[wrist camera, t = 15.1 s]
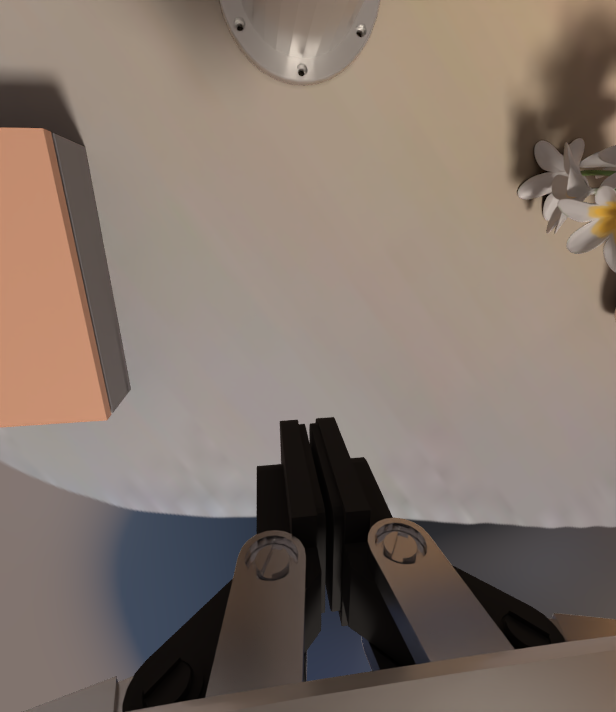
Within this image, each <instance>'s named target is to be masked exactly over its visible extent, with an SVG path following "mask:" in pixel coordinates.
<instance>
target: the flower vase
mask: <svg viewBox="0 0 616 712" xmlns="http://www.w3.org/2000/svg"><path fill="white" fill-rule="evenodd" d="M584 147H585V143H584V140H583V139H582V138H577V139H575V140H574V141H573V142H571V144H569V145H568V143H567V142H566V143H565V147H564V156H563V155H562V154H560V153H559V151H558V150H557V149H556V148H555V147H554V146H553V145H552V144H550V143H549V142H547V141H543V140H541V141H539V142H538V143H536V145H535V149H534V153H535V158H536V161H537V163H538V164H539V166H540V167H541V168H542V169H543V170H546V171H549V172H547V173H542V174H539V175H536V176H534V177H532V178H530V179H528V180H527V181H525V182H524V183H523V184H522V185H521V186H520V188H519V189H518V196H519V198H521V199H533V198H537V197H540V196H543V195H546V194H548V193H551V192H552V193H551V194H550V195H548V196H547V198H546V200H545V203H544V206H543V216H544V218H545V220H549V222H548V225H547V230H546V231H547V234H548V233H549V232H550V231H551V230H552V229H553V228H554V227H555V226H556V227H555V232H554V234H555V233H556V232H557V231H558V229H559V228H560V227H561V225H562V224H563V223H564V221H565V220H566V219H567V217H569V218H570V219H572V220H575V221H578V222H588V221H591V222H589V223H587V224H586V225H584V226H582V227H581V228H579V229H578V230H576V231H575V232H574V233H573V234H572V235H571V236H570V237H569V239H568V241H567V249H568V250H569V251H570V252H572V253H575V254H581V253H586V252H588V251H591V250H592V249H594V248H596V247H597V246H599V245H600V244H602V243H603V242H604V241H606V240H607V239H608V240H607V241H606V243H605V245H604V250H603V252H604V257H605V260H606V262H607V264H608V266H609V267H610V268H611V269H612V270H613V271H614V272H615V273H616V145H615V146H611V147H608V148H606V149H604V150H602V151H599V152H597V153H594V154H592V155H590V156H589V157H587V158H585V159H584V160H582V161H581V159H582V156H583V153H584ZM580 167H582V168H592V167H605V168H604V169H602V170H584V171H580ZM590 175H595V178H596V179H597V178H601V177H604V176H609V177H608V178H606V179H605V180H604V181H603V182H602V184H601V186H600V188H591V187H590V186H589V185H588V180H587V178H586V177H585V176H590ZM592 194H595V202H596V204H595V203H587V202H583V200H584V199H585V198H586V197H587V196H589V195H592ZM592 220H593V221H592ZM614 316H615V320H616V309H615V314H614Z"/></svg>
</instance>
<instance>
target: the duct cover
mask: <svg viewBox="0 0 616 712" xmlns="http://www.w3.org/2000/svg"><path fill="white" fill-rule="evenodd" d="M110 416H111V411H110V406H109V401H108V397H107V392H106V387H105V383H104V378H103V373H102V368H101V364H100V359H99V354H98V350H97V345H96V340H95V336H94V331H93V326H92V322H91V317H90V312H89V308H88V303H87V298H86V294H85V289H84V284H83V279H82V275H81V270H80V265H79V261H78V256H77V251H76V247H75V242H74V237H73V233H72V228H71V223H70V219H69V214H68V209H67V205H66V200H65V195H64V191H63V186H62V181H61V176H60V172H59V167H58V162H57V158H56V153H55V148H54V144H53V139H52V134H51V132H50V131H48V130H46V129H44V128H0V427H12V426H27V425H43V424H58V423H73V422H88V421H103V420H108V418H109V417H110Z"/></svg>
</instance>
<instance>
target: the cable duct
mask: <svg viewBox="0 0 616 712" xmlns="http://www.w3.org/2000/svg"><path fill="white" fill-rule="evenodd" d="M51 134H52V139H53V144H54V148H55V153H56V158H57V162H58V167H59V172H60V176H61V181H62V186H63V191H64V195H65V200H66V205H67V209H68V214H69V219H70V223H71V228H72V233H73V237H74V242H75V247H76V251H77V256H78V261H79V265H80V270H81V275H82V279H83V284H84V289H85V294H86V298H87V303H88V308H89V312H90V317H91V322H92V326H93V331H94V336H95V340H96V345H97V350H98V354H99V359H100V364H101V368H102V373H103V378H104V383H105V387H106V392H107V397H108V401H109V406H110V411H111V413H113V412H114V411H115V409H116V408H117V407H118V405H119V404H120V403H121V401H122V400H123V399H124V397H125V396H126V395H127V394H128V392H129V391H130V390H131V388H130V383H129V377H128V372H127V367H126V361H125V356H124V351H123V345H122V340H121V335H120V330H119V324H118V319H117V314H116V308H115V303H114V298H113V292H112V287H111V282H110V277H109V271H108V266H107V261H106V255H105V250H104V245H103V239H102V234H101V229H100V223H99V218H98V213H97V208H96V202H95V197H94V192H93V186H92V181H91V176H90V170H89V165H88V160H87V155H86V149H85V147H84V146H82V145H79V144H77V143H75V142H73V141H70V140H68V139H66V138H64V137H62V136H59V135H57V134H55V133H51Z"/></svg>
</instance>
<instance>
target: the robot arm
mask: <svg viewBox="0 0 616 712" xmlns="http://www.w3.org/2000/svg"><path fill="white" fill-rule="evenodd" d="M219 1H220V5H221V10H222V14H223V16H224V19H225V21H226V24H227V27H228V29H229V32H230V33H231V35H232V37H233V39H234V40H235V42H236V44H237V46H238V47H239V49H240V50H241V51H242V52H243V53H244V55H245V56H246V57H247V58H248V60H249V61H250V62H251V63H253V64H254V65H255V66H256V67H257V68H258V69H260V70H261V71H262V72H263V73H265V74H267V75H269V76H270V77H272V78H274V79H276V80H278V81H281V82H284V83H288V84H292V85H303V86H306V85H313V84H319V83H322V82H324V81H327V80H330V79H332V78H334V77H335V76H337V75H338V74H340V73H341V72H343V71H344V70H345V69H346V68H347V67H348V66H349V65H350V64H351V63H352V62H353V61H354V60H355V59H356V58H357V56H358V55H359V53H360V52H361V50H362V49H363V47H364V46H365V44H366V42H367V41H368V39H369V37H370V35H371V33H372V30H373V27H374V24H375V21H376V19H377V15H378V10H379V5H380V0H219ZM239 26H241V27H242V28H243V31H238V30H237V27H239ZM358 32H359V33H360V34H361V37H358V35H357V34H356V33H358ZM299 71H303V73H304V76H299V74H298V72H299ZM280 441H281V464H278V465H266V466H257V535H255V536H254V537H252V538H251V539H249V540H248V541H247V542H246V543H245V545H244V546H243V547H242V548H241V551H240V553H239V556H238V559H237V564H236V568H235V572H234V577H233V579H232V580H231V581H230V582H229V583H228V584H227V585H225V586H224V587H223V588H222V589H221V590H220V591H219V592H218V593H217V594H216V595H215V596H214V597H213V598H212V599H211V600H210V601H209V602H207V604H205V605H204V606H203V607H202V608H201V609H200V610H199V611H198V612H197V613H196V614H195V615H194V616H193V617H192V618H191V619H190V620H189V621H188V622H186V623H185V624H184V625H183V626H182V627H181V628H180V629H179V630H178V631H177V632H176V633H175V634H174V635H173V636H172V637H170V638H169V639H168V640H167V641H166V642H165V643H164V644H163V645H162V646H161V647H160V648H159V649H158V650H157V651H156V652H155V653H154V654H152V656H150V657H149V658H148V659H147V660H146V661H145V663H144V664H143V665H142V666H141V667H140V668H139V669H138V671H137V672H136V673H135V675H134V676H132V677H130V678H127V679H125V680H122V681H119V682H118V680H117V676H115V677H112V678H110V679H107V680H104V681H102V682H99V683H97V684H94V685H91V686H89V687H87V688H84V689H81V690H78V691H76V692H73V693H71V694H68V695H65V696H63V697H60V698H58V699H55V700H52V701H50V702H47V703H44V704H42V705H39V706H36V707H34V708H32V709H29V710H26V711H23V712H616V619H607V618H597V617H587V616H578V615H568V614H559V613H553V616H552V619H550V618H547V617H546V616H545V615H543V614H542V613H540V612H539V611H537V610H536V609H534V608H533V607H531V606H529V605H527V604H525V603H524V602H521V601H520V600H518V599H516V598H514V597H512V596H510V595H508V594H506V593H504V592H502V591H501V590H499V589H497V588H495V587H493V586H491V585H489V584H487V583H485V582H483V581H481V580H479V579H477V578H476V577H474V576H472V575H470V574H468V573H466V572H464V571H462V570H460V569H458V568H456V567H454V566H452V565H451V564H450V562H449V561H448V560H447V558H446V557H445V555H444V554H443V553H442V551H441V550H440V549H439V547H438V546H437V545H436V543H435V542H434V541H433V539H432V538H431V537H430V535H429V534H428V533H427V532H426V531H425V530H424V529H423V528H421V527H420V526H418V525H417V524H415V523H414V522H411V521H408V520H405V519H400V518H393V517H392V515H391V513H390V511H389V508H388V506H387V504H386V502H385V500H384V498H383V495H382V493H381V491H380V489H379V487H378V485H377V482H376V480H375V478H374V476H373V474H372V471H371V469H370V467H369V465H368V463H367V461H366V459H365V458H364V457H361V458H350V456H349V453H348V451H347V448H346V446H345V443H344V441H343V438H342V436H341V433H340V431H339V428H338V426H337V423H336V421H335V418H334V417H331V418H316V423H312V424H310V444H309V440H308V435H307V431H306V427H305V424H298V420H288V421H280ZM325 584H326V589H327V594H328V599H329V605H330V609H331V611H339V615H340V620H341V625H342V626H347V625H348V626H349V627H350V628H351V629H353V630H354V631H355V632H357V633H358V634H359V635H361V636H362V644H363V648H364V651H365V654H366V657H367V659H368V662H369V664H370V667H371V669H372V671H371V672H365V673H358V674H352V675H346V676H339V677H333V678H326V679H320V680H313V681H307V682H306V679H307V649H308V648H309V647H310V645H311V644H312V642H313V641H314V640H315V638H316V637H317V635H318V634H319V632H320V631H321V613H324V612H325Z"/></svg>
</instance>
